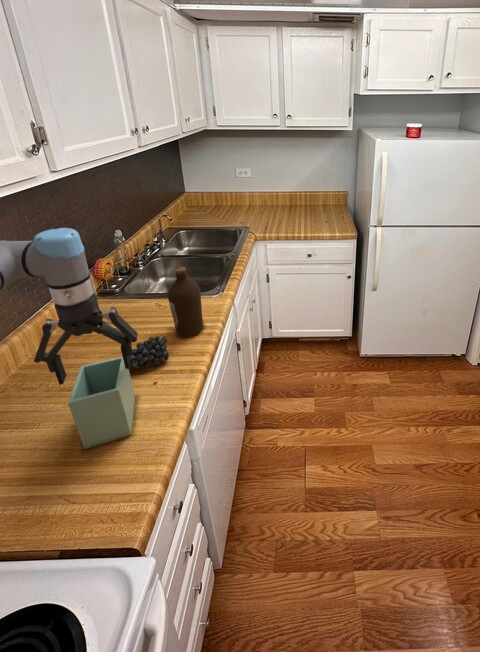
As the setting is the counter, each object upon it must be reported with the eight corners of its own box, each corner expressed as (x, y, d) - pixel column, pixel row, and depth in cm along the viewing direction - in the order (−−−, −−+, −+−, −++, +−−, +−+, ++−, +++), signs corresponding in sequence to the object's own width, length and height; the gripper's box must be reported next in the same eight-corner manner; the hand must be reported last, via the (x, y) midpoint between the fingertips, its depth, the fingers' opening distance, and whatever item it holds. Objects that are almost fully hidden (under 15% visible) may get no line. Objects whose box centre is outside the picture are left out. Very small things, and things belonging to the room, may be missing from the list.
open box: (118, 390, 77) (125, 355, 88) (67, 403, 74) (80, 365, 84) (131, 434, 83) (135, 397, 93) (84, 449, 79) (94, 409, 90)
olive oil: (202, 317, 128) (194, 259, 119) (207, 333, 119) (199, 272, 110) (173, 325, 123) (162, 265, 114) (175, 342, 115) (164, 279, 105)
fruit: (113, 354, 96) (168, 336, 103) (115, 345, 104) (166, 329, 111) (120, 381, 97) (174, 362, 104) (121, 370, 105) (172, 353, 112)
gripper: (-6, 319, 65) (27, 399, 73) (136, 295, 74) (152, 369, 81) (11, 299, 71) (39, 375, 79) (139, 279, 80) (153, 349, 88)
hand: (96, 372), depth 80 cm, fingers open, 13 cm apart
